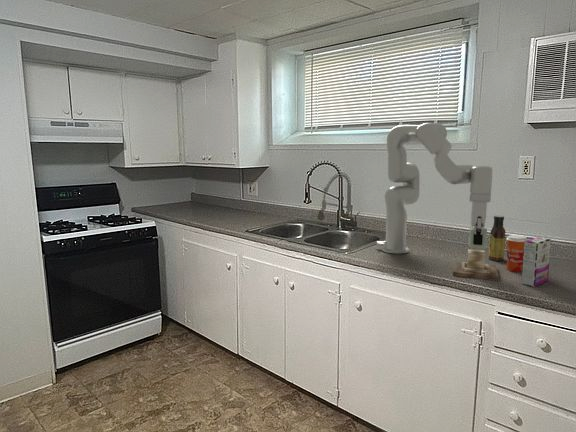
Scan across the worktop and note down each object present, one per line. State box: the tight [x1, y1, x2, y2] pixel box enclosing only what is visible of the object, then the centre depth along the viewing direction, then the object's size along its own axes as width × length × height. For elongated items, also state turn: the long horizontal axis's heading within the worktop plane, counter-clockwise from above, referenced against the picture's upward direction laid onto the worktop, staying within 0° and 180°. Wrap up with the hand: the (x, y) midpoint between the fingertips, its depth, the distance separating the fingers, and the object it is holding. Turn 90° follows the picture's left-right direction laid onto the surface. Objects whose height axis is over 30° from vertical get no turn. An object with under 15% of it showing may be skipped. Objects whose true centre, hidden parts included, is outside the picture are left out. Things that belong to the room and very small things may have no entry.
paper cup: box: [505, 234, 528, 273], centre depth 169 cm, size 8×8×14 cm
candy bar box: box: [521, 236, 552, 287], centre depth 154 cm, size 11×5×16 cm, turn 126°
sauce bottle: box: [488, 214, 507, 262], centre depth 185 cm, size 6×6×20 cm
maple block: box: [466, 248, 486, 270], centre depth 167 cm, size 6×6×7 cm
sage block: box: [468, 226, 488, 249], centre depth 166 cm, size 6×6×7 cm
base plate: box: [452, 261, 500, 281], centre depth 168 cm, size 16×16×2 cm
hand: (477, 242), depth 166 cm, fingers closed on sage block, 5 cm apart
